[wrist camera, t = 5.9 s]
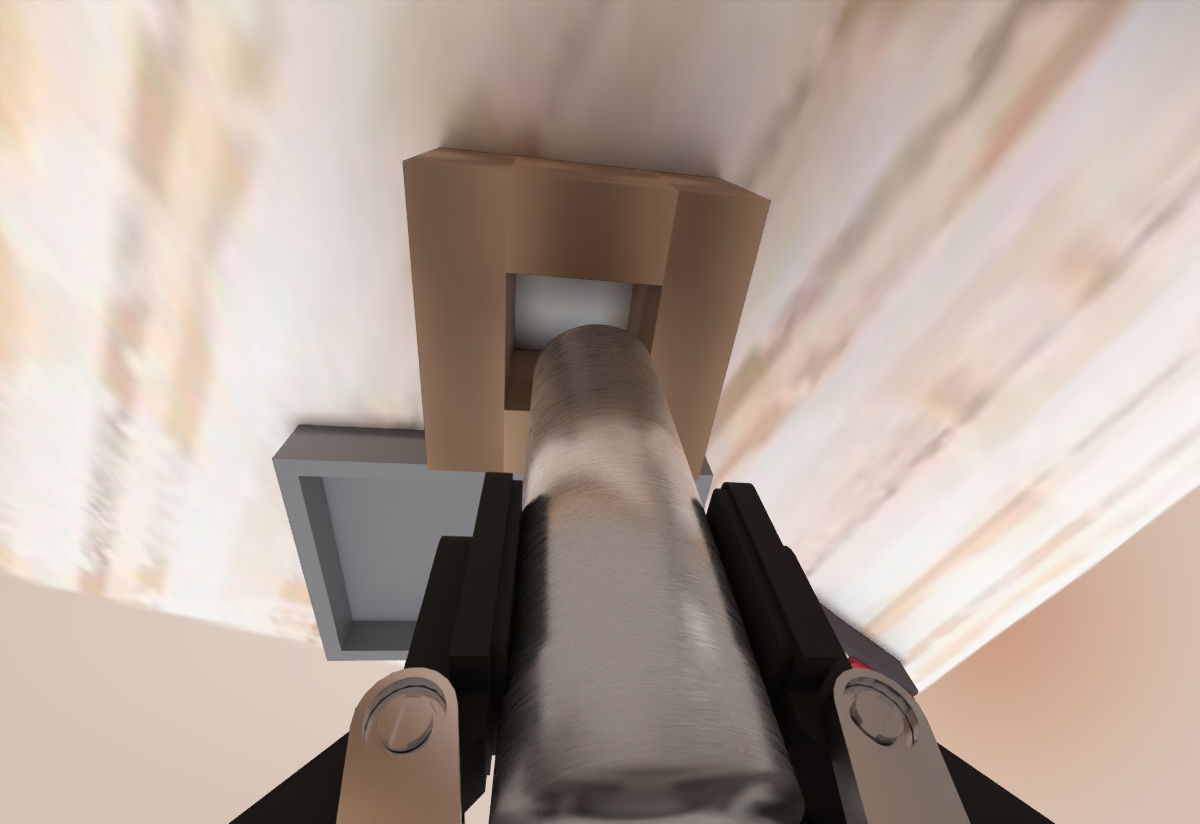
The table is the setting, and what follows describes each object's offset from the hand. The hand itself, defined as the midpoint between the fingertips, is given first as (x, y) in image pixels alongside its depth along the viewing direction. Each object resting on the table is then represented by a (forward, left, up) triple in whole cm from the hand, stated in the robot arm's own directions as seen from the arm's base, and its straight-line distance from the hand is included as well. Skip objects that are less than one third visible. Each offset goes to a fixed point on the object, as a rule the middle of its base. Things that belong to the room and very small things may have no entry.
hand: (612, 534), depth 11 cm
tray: (+3, +16, -16) cm, 23 cm away
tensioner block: (0, 0, -16) cm, 16 cm away
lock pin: (0, 0, -7) cm, 7 cm away
